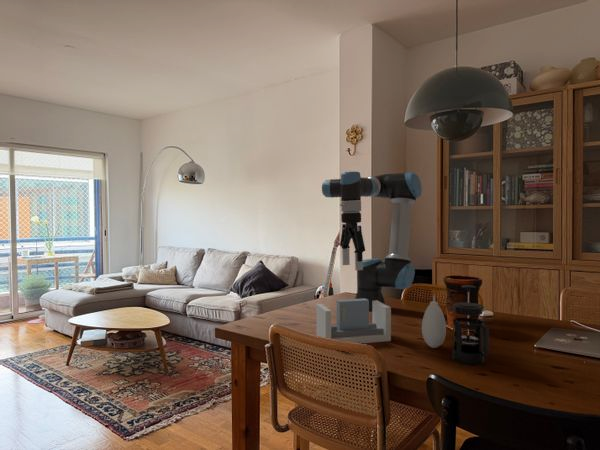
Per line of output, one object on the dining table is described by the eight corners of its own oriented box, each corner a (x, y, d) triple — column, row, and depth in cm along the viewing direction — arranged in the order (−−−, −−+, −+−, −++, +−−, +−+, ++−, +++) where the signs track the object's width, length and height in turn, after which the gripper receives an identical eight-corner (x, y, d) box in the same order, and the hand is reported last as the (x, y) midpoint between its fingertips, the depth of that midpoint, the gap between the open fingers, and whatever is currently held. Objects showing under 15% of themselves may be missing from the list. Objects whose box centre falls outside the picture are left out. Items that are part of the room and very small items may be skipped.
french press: (443, 357, 135) (444, 284, 135) (463, 352, 140) (463, 281, 140) (476, 369, 125) (477, 290, 125) (496, 362, 130) (496, 287, 130)
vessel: (435, 323, 176) (436, 274, 175) (466, 322, 179) (468, 274, 178) (454, 333, 162) (456, 280, 161) (488, 331, 165) (490, 279, 164)
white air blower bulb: (421, 349, 143) (421, 295, 142) (421, 342, 150) (421, 291, 150) (446, 351, 141) (446, 296, 140) (445, 344, 148) (445, 292, 148)
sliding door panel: (365, 330, 159) (365, 298, 159) (369, 333, 155) (369, 300, 155) (336, 332, 156) (336, 299, 156) (340, 335, 153) (339, 302, 152)
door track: (377, 331, 165) (377, 300, 164) (390, 340, 153) (390, 307, 153) (316, 336, 159) (316, 303, 159) (325, 346, 148) (325, 311, 147)
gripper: (331, 211, 176) (332, 263, 177) (354, 213, 152) (355, 273, 153) (348, 211, 178) (349, 262, 179) (373, 212, 154) (374, 271, 155)
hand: (352, 267), depth 166 cm, fingers open, 13 cm apart
